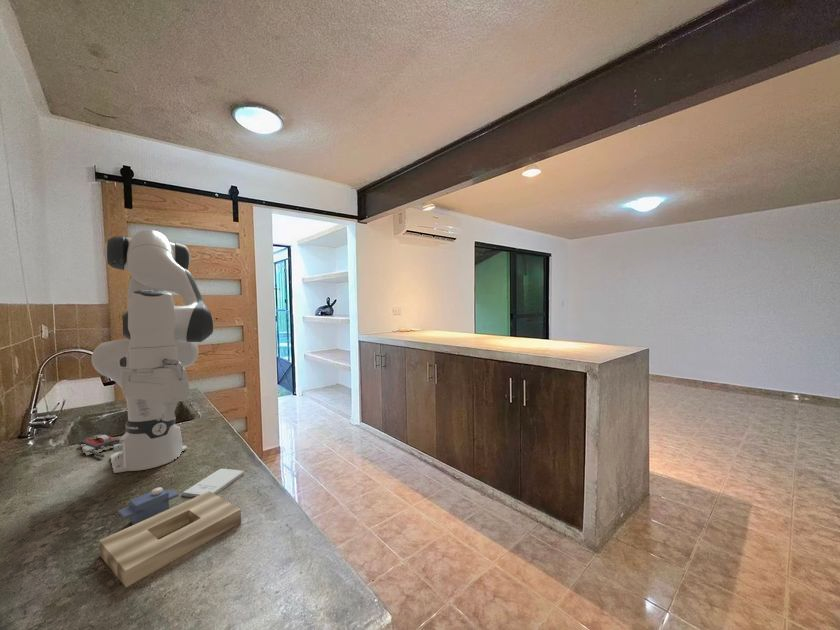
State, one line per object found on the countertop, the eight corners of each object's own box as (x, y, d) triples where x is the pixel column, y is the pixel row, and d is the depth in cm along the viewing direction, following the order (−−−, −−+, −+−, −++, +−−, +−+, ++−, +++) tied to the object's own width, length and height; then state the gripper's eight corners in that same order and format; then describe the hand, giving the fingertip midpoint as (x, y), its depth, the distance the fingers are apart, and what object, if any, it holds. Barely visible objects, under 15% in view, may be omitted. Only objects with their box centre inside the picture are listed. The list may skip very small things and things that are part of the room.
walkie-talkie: (70, 450, 113) (98, 462, 104) (70, 438, 113) (98, 448, 104) (103, 441, 121) (132, 450, 112) (103, 429, 121) (131, 438, 112)
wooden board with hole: (99, 555, 64) (99, 540, 64) (209, 502, 81) (209, 490, 81) (126, 587, 57) (125, 570, 57) (241, 522, 74) (240, 509, 74)
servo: (118, 526, 73) (117, 501, 73) (171, 503, 81) (170, 480, 81) (125, 533, 71) (124, 507, 70) (179, 508, 79) (178, 485, 79)
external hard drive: (244, 476, 95) (208, 501, 83) (220, 473, 97) (181, 497, 84) (244, 470, 95) (208, 495, 83) (220, 468, 97) (181, 491, 84)
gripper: (196, 357, 75) (198, 418, 75) (145, 356, 83) (146, 411, 83) (165, 361, 69) (167, 427, 69) (113, 359, 78) (115, 418, 77)
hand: (155, 418), depth 76 cm, fingers open, 8 cm apart
